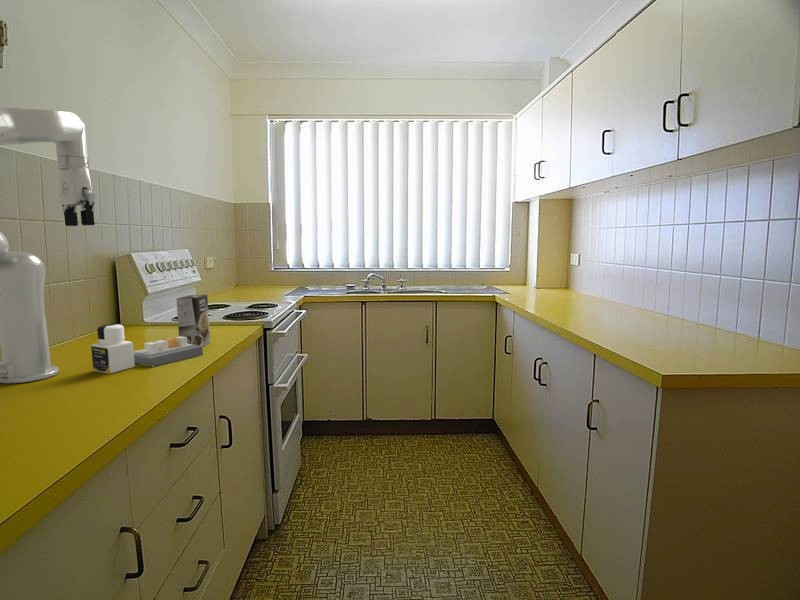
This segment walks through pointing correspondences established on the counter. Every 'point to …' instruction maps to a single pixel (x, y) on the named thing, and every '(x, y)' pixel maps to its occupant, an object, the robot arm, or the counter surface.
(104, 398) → the counter surface
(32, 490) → the counter surface
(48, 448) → the counter surface
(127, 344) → the medicine bottle
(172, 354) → the breaker panel
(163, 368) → the counter surface
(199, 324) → the coffee box
